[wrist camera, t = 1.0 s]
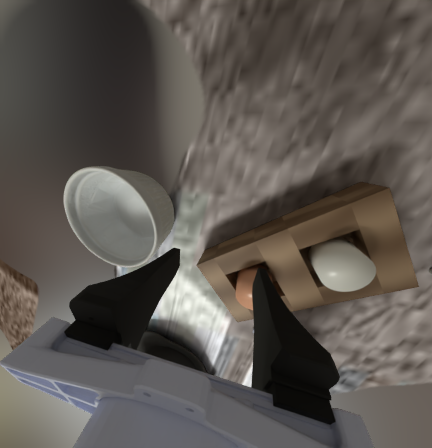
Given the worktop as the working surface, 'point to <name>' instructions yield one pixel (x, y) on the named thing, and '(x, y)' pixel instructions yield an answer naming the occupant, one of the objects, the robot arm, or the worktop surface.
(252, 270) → the terracotta button
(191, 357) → the casserole
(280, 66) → the worktop surface
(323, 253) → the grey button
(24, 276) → the worktop surface
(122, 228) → the ramekin
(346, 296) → the button box
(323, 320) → the worktop surface
